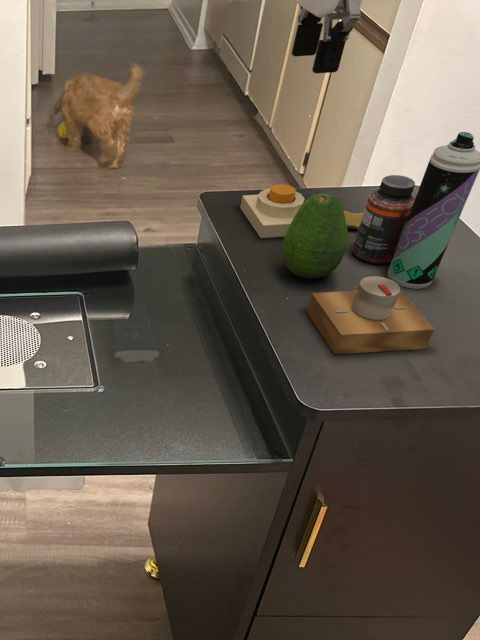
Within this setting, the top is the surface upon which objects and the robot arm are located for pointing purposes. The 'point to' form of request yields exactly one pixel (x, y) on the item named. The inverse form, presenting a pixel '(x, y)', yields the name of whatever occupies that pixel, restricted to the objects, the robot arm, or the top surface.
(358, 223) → the tan elongated lumpy piece
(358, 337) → the dial panel
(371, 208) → the supplement bottle
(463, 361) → the top surface
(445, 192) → the spray can
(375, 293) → the knob
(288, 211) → the button box
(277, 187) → the button
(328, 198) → the fruit
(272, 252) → the top surface
